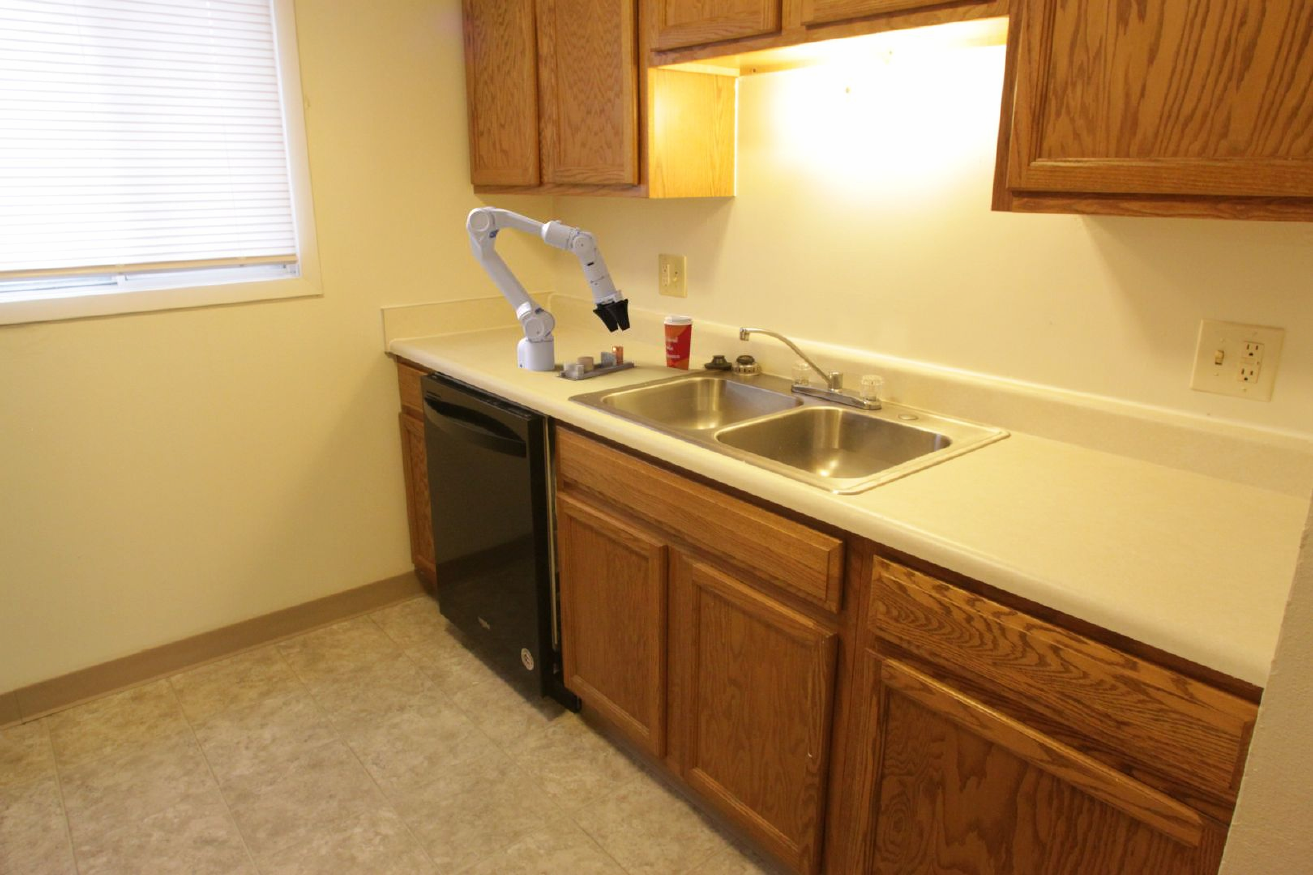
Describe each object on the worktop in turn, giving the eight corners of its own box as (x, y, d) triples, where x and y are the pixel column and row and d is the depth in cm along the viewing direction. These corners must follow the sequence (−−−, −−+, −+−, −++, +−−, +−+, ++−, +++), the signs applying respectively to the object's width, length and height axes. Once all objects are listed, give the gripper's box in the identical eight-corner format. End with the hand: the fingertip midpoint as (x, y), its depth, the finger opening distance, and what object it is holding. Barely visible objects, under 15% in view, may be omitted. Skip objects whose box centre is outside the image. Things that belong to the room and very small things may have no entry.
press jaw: (600, 367, 225) (600, 348, 223) (620, 363, 230) (619, 344, 228) (613, 369, 222) (613, 350, 221) (632, 365, 227) (632, 346, 226)
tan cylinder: (574, 374, 218) (574, 358, 217) (586, 371, 221) (585, 355, 220) (585, 376, 215) (585, 360, 214) (597, 373, 218) (596, 358, 217)
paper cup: (658, 369, 231) (658, 316, 226) (685, 367, 233) (686, 314, 229) (669, 375, 224) (670, 320, 219) (697, 373, 226) (698, 319, 222)
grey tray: (555, 382, 216) (554, 364, 215) (617, 368, 232) (617, 351, 230) (575, 386, 211) (574, 368, 210) (637, 372, 227) (637, 355, 226)
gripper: (624, 269, 211) (645, 322, 214) (602, 276, 224) (622, 325, 228) (599, 280, 209) (621, 333, 212) (578, 286, 222) (599, 336, 225)
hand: (620, 330), depth 220 cm, fingers open, 7 cm apart
